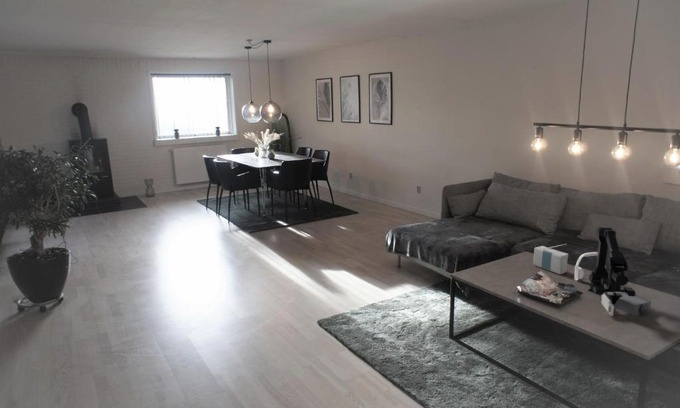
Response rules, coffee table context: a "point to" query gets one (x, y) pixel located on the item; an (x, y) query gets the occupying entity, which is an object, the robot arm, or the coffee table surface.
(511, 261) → the coffee table surface
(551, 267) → the stereo radio cassette player
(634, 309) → the grey slab
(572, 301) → the coffee table surface
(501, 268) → the coffee table surface
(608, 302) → the side door
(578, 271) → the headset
